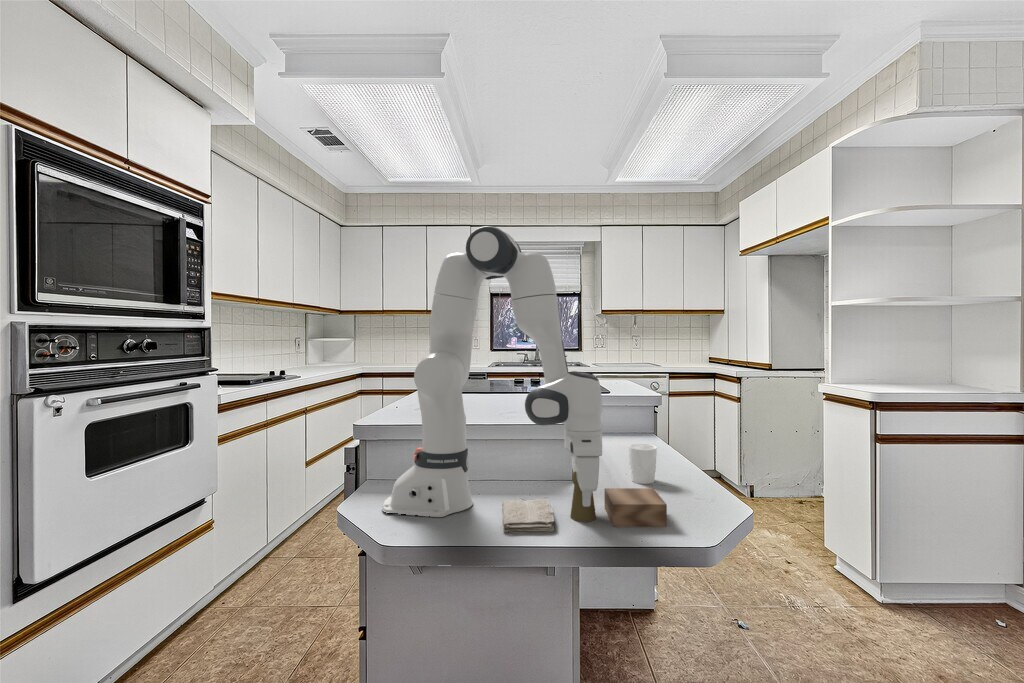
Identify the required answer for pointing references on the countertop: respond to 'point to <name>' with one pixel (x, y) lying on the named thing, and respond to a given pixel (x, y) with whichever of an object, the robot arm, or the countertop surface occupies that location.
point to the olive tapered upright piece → (581, 505)
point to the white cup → (642, 463)
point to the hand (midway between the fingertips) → (583, 498)
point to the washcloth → (528, 516)
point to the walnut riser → (635, 507)
